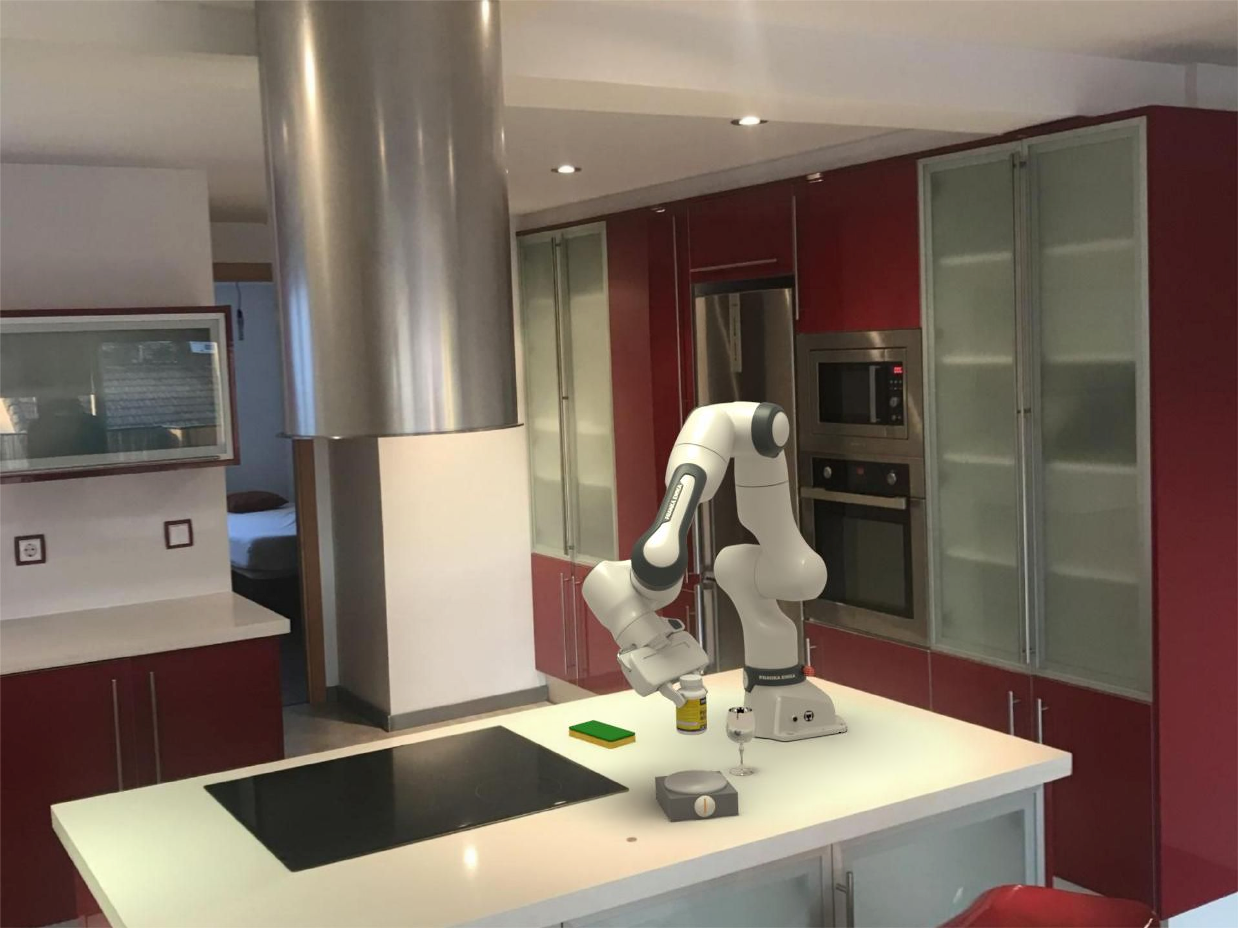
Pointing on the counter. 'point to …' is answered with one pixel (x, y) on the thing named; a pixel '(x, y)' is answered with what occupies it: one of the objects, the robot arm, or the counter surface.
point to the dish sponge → (602, 734)
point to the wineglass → (741, 732)
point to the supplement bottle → (692, 706)
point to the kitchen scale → (696, 795)
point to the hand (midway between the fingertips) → (694, 700)
